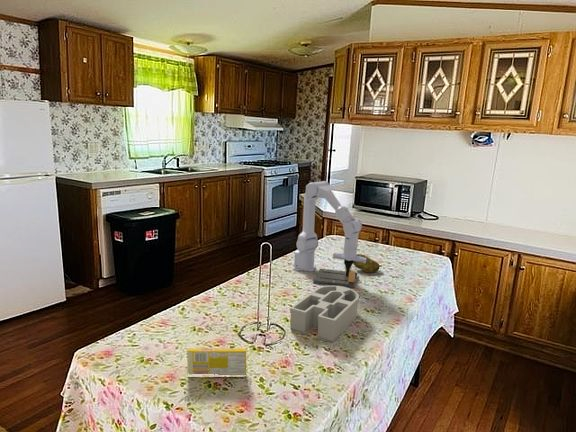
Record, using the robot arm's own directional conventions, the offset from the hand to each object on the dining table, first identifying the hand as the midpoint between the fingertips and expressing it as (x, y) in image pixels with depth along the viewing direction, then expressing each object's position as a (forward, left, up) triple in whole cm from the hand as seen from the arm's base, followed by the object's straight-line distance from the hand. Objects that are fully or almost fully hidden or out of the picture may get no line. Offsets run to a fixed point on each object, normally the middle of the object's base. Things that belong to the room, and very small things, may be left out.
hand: (347, 275), depth 185 cm
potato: (+6, +20, -4) cm, 21 cm away
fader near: (+2, 0, -2) cm, 3 cm away
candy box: (-27, -81, -4) cm, 85 cm away
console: (-6, +4, -4) cm, 8 cm away
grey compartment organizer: (-2, -38, -4) cm, 39 cm away
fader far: (-1, +8, -2) cm, 8 cm away
